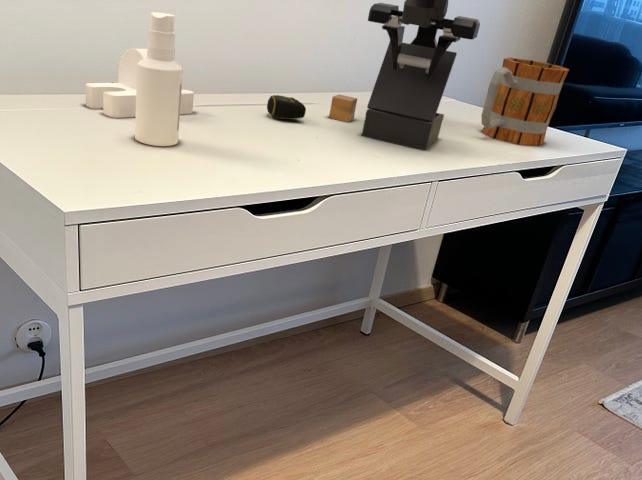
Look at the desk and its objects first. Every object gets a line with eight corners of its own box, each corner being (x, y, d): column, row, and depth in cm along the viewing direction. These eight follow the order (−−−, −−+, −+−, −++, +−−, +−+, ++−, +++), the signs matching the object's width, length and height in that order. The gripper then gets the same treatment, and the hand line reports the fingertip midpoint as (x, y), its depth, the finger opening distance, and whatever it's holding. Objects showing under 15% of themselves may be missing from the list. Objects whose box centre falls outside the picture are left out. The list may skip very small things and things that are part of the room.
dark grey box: (378, 125, 137) (383, 101, 135) (437, 138, 134) (444, 114, 131) (361, 135, 127) (366, 109, 124) (425, 150, 123) (432, 124, 121)
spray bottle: (184, 141, 107) (193, 17, 97) (166, 149, 101) (174, 19, 92) (146, 132, 108) (152, 9, 99) (126, 140, 103) (130, 10, 93)
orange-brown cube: (334, 114, 141) (338, 94, 138) (353, 119, 139) (357, 98, 137) (328, 117, 137) (332, 96, 135) (347, 122, 136) (351, 100, 134)
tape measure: (304, 123, 130) (308, 103, 128) (272, 121, 127) (275, 101, 125) (292, 115, 135) (295, 95, 133) (261, 112, 133) (264, 93, 131)
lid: (390, 42, 125) (388, 29, 120) (456, 54, 121) (457, 41, 117) (367, 108, 125) (365, 97, 120) (433, 122, 121) (432, 112, 117)
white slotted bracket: (194, 113, 125) (199, 54, 119) (112, 118, 113) (113, 53, 108) (164, 101, 130) (167, 44, 125) (83, 104, 119) (82, 42, 113)
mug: (506, 128, 153) (528, 58, 145) (556, 144, 144) (583, 71, 137) (451, 130, 143) (471, 55, 135) (501, 148, 134) (527, 69, 126)
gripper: (369, -33, 108) (350, 68, 117) (483, -16, 103) (454, 89, 112) (386, -33, 117) (367, 61, 126) (491, -17, 112) (465, 80, 120)
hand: (411, 73), depth 121 cm, fingers closed on lid, 6 cm apart
